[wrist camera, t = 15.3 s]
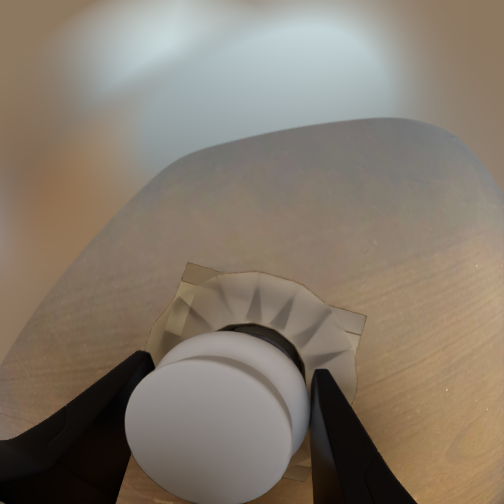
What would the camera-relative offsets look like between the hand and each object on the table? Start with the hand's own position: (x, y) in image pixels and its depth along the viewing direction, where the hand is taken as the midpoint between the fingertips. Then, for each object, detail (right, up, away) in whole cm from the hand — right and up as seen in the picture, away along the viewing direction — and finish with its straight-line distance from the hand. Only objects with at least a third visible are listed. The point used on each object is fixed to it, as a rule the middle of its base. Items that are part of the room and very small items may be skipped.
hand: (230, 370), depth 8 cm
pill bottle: (0, -3, +6) cm, 7 cm away
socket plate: (+1, -4, +8) cm, 8 cm away
